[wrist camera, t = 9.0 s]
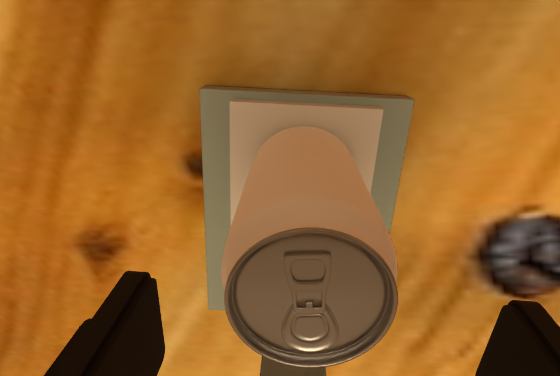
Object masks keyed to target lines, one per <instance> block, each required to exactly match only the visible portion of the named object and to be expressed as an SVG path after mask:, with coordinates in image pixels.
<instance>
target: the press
mask: <svg viewBox="0 0 560 376" xmlns="http://www.w3.org/2000/svg"><path fill="white" fill-rule="evenodd" d="M414 101H415V100H414V99H412V98H410V97H408V96H396V95H377V94H358V93H339V92H320V91H301V90H282V89H262V88H243V87H224V86H203V87H202V88H200V112H201V137H202V162H203V187H204V212H205V237H206V262H207V287H208V309H210V310H225V303H224V292H225V290H224V286H223V282H222V274H221V265H222V257H223V252H224V248H225V244H226V240H227V237H228V234H229V231H230V228H231V225H232V222H233V219H234V216H235V213H236V210H237V207H238V204H239V201H240V198H241V195H242V192H243V189H244V186H245V183H246V180H247V177H248V174H249V171H250V169H251V166H252V163H253V161H254V158H255V156H256V154H257V152H258V151H259V149H260V148H261V146H262V145H263V144H264V143H265V142H266V141H267V140H268V139H269V138H270V137H272V136H273V135H275V134H276V133H278V132H280V131H282V130H285V129H288V128H292V127H298V126H309V127H316V128H319V129H322V130H325V131H327V132H329V133H331V134H333V135H334V136H336V137H337V138H338V139H339V140H340V141H341V142H342V143H343V144H344V145H345V146H346V148H347V149H348V150H349V152H350V154H351V156H352V158H353V160H354V162H355V164H356V166H357V168H358V170H359V172H360V174H361V176H362V178H363V180H364V182H365V184H366V186H367V188H368V190H369V192H370V195H371V197H372V199H373V201H374V203H375V205H376V207H377V209H378V211H379V214H380V216H381V218H382V220H383V222H384V224H385V226H386V229H387V231H388V233H389V234H390V229H391V223H392V218H393V213H394V207H395V202H396V197H397V191H398V186H399V181H400V175H401V170H402V165H403V159H404V154H405V149H406V143H407V138H408V133H409V127H410V122H411V117H412V111H413V106H414ZM225 311H226V310H225ZM260 376H326V368H325V367H319V368H303V367H294V366H289V365H285V364H281V363H278V362H275V361H272V360H270V359H268V358H266V357H264V356H262V361H261V370H260Z"/></svg>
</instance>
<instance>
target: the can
mask: <svg viewBox="0 0 560 376" xmlns="http://www.w3.org/2000/svg"><path fill="white" fill-rule="evenodd" d="M221 274H222V282H223V286H224V290H225V292H224V303H225V310H226V314H227V317H228V320H229V322H230V324H231V326H232V328H233V329H234V331H235V332H236V334H237V335H238V336H239V338H240V339H241V340H242V341H243V342H244V343H245V344H246V345H247V346H249V347H250V348H251V349H252V350H254V351H255V352H257V353H258V354H260V355H262V356H264V357H266V358H268V359H270V360H272V361H275V362H278V363H281V364H285V365H289V366H294V367H303V368H319V367H328V366H333V365H337V364H341V363H344V362H347V361H350V360H352V359H354V358H357V357H358V356H360V355H362V354H364V353H365V352H367V351H368V350H370V349H371V348H372V347H374V346H375V345H376V344H377V343H378V342H379V341H380V340H381V339H382V338H383V337H384V335H385V334H386V333H387V331H388V330H389V328H390V326H391V324H392V322H393V320H394V317H395V314H396V310H397V305H398V291H397V285H396V282H397V274H398V265H397V257H396V253H395V249H394V246H393V243H392V240H391V238H390V236H389V233H388V231H387V229H386V226H385V224H384V222H383V220H382V218H381V216H380V214H379V211H378V209H377V207H376V205H375V203H374V201H373V199H372V197H371V195H370V192H369V190H368V188H367V186H366V184H365V182H364V180H363V178H362V176H361V174H360V172H359V170H358V168H357V166H356V164H355V162H354V160H353V158H352V156H351V154H350V152H349V150H348V149H347V148H346V146H345V145H344V144H343V143H342V142H341V141H340V140H339V139H338V138H337V137H336V136H334V135H333V134H331V133H329V132H327V131H325V130H322V129H319V128H316V127H309V126H298V127H292V128H288V129H285V130H282V131H280V132H278V133H276V134H275V135H273V136H272V137H270V138H269V139H268V140H267V141H266V142H265V143H264V144H263V145H262V146H261V148H260V149H259V151H258V152H257V154H256V156H255V158H254V161H253V163H252V166H251V169H250V171H249V174H248V177H247V180H246V183H245V186H244V189H243V192H242V195H241V198H240V201H239V204H238V207H237V210H236V213H235V216H234V219H233V222H232V225H231V228H230V231H229V234H228V237H227V240H226V244H225V248H224V252H223V257H222V265H221Z"/></svg>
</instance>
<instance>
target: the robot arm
mask: <svg viewBox="0 0 560 376" xmlns="http://www.w3.org/2000/svg"><path fill="white" fill-rule="evenodd" d="M164 354H165V343H164V336H163V328H162V320H161V313H160V305H159V297H158V290H157V282H156V279H155V278H151V277H150V274H149V273H148V272H137V271H126V272H125V273H124V274H123V276H122V277H121V278H120V280H119V281H118V283H117V284H116V285H115V287H114V288H113V290H112V291H111V293H110V294H109V295H108V297H107V298H106V300H105V301H104V302H103V304H102V305H101V307H100V308H99V309H98V311H97V312H96V314H95V315H94V316H93V318H92V319H87V320H86V321H84V322H83V324H82V325H81V326H80V327H79V328H78V330H77V331H76V332H75V334H74V335H73V337H72V338H71V339H70V341H69V342H68V343H67V345H66V346H65V347H64V349H63V350H62V352H61V353H60V354H59V356H58V357H57V358H56V360H55V361H54V363H53V364H52V365H51V367H50V368H49V369H48V371H47V372H46V373H45V375H44V376H157V374H158V371H159V369H160V367H161V364H162V362H163V359H164ZM475 376H560V327H559V326H558V325H557V324H556V322H555V321H554V320H553V319H552V317H551V316H550V315H549V314H548V313H547V311H546V310H545V309H544V308H543V307H542V306H541V305H540V304H539V303H537V302H533V301H520V300H512V301H510V302H509V303H508V305H505V306H503V307H502V309H501V312H500V314H499V317H498V319H497V322H496V324H495V327H494V329H493V331H492V334H491V336H490V339H489V341H488V344H487V346H486V349H485V351H484V354H483V356H482V359H481V361H480V364H479V366H478V369H477V371H476V375H475Z"/></svg>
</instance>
